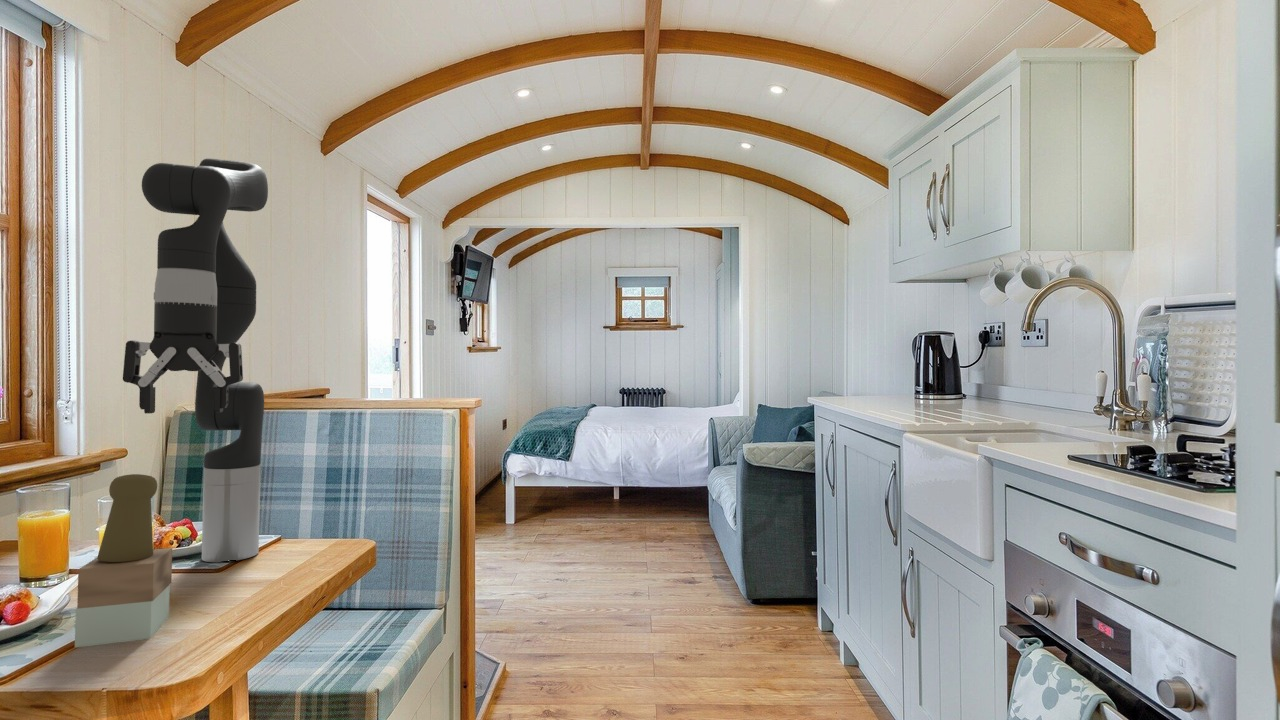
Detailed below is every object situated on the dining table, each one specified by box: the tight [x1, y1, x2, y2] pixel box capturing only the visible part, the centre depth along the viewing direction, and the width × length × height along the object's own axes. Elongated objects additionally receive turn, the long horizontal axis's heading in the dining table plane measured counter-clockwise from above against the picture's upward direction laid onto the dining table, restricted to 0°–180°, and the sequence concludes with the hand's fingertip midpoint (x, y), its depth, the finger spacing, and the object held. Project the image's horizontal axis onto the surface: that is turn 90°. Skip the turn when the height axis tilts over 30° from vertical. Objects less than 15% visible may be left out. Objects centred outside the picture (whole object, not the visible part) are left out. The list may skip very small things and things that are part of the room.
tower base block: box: [74, 584, 171, 648], centre depth 88 cm, size 8×8×5 cm
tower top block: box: [76, 547, 173, 609], centre depth 88 cm, size 8×8×5 cm
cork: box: [96, 473, 158, 562], centre depth 88 cm, size 6×6×11 cm
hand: (184, 412), depth 95 cm, fingers open, 8 cm apart
